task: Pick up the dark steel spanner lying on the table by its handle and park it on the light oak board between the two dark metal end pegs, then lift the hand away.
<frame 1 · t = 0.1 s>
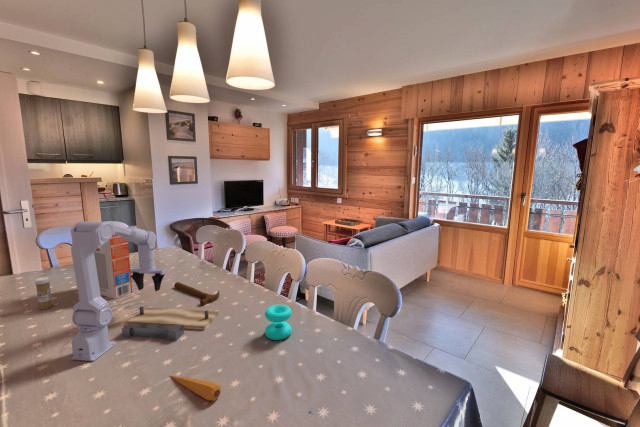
hand: (149, 289, 125), 10 cm above the table, tool pointing down, fingers open, 7 cm apart
carrot: (193, 388, 84), on the table
oak board: (174, 319, 121), on the table
donuts: (278, 334, 111), on the table
spanner: (153, 335, 109), on the table
pasta box: (109, 291, 147), on the table
hammer: (196, 294, 146), on the table
sprinkles bottle: (46, 307, 130), on the table
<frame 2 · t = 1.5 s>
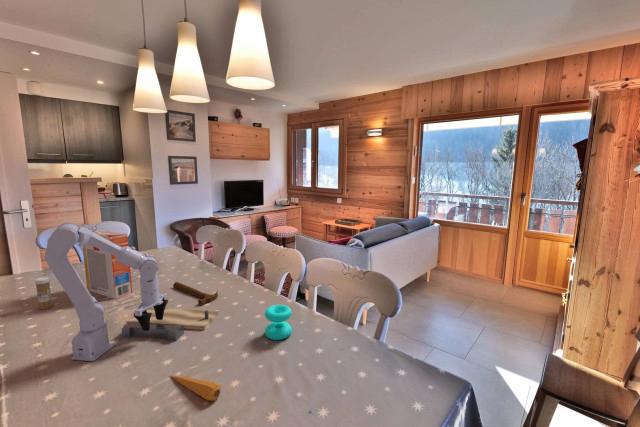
hand: (153, 324, 109), 4 cm above the table, tool pointing down, fingers open, 7 cm apart
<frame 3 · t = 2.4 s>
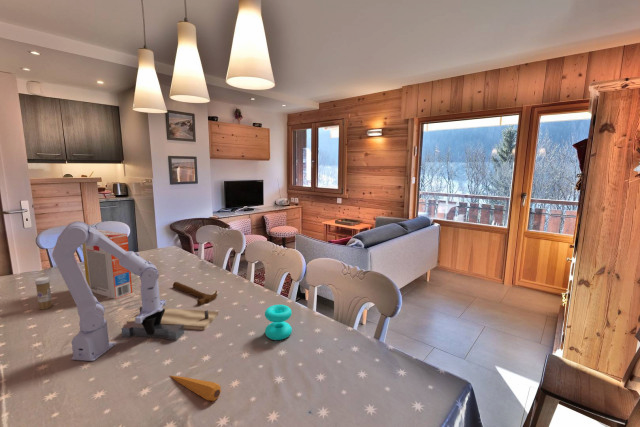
hand: (153, 331, 109), 1 cm above the table, tool pointing down, fingers closed on spanner, 3 cm apart
spanner: (153, 335, 109), on the table, touching gripper
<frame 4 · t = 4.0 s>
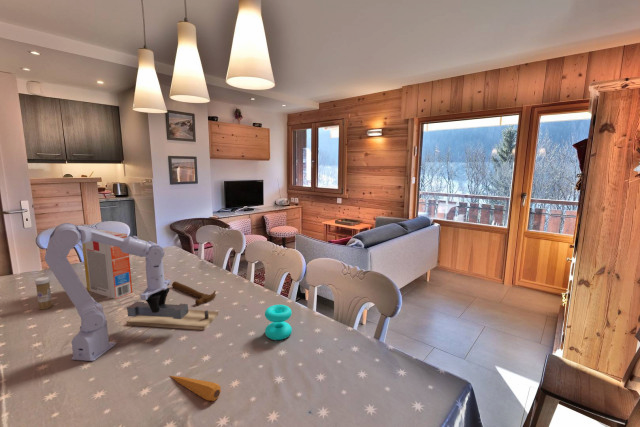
hand: (158, 309, 111), 8 cm above the table, tool pointing down, fingers closed on spanner, 3 cm apart
spanner: (158, 314, 111), point 7 cm above the table, touching gripper
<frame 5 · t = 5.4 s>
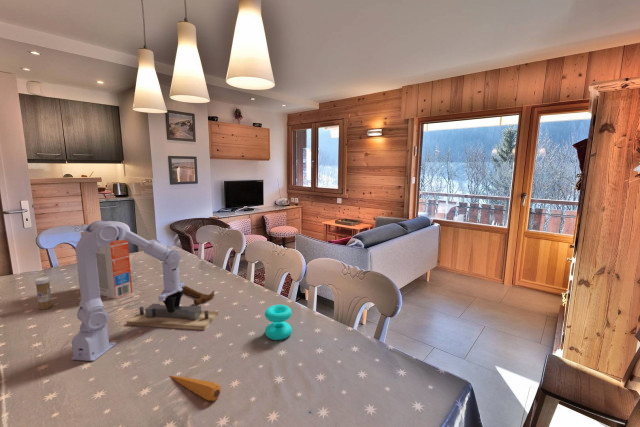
hand: (173, 310, 120), 4 cm above the table, tool pointing down, fingers closed on spanner, 3 cm apart
spanner: (173, 315, 120), point 2 cm above the table, touching gripper
when the fingers open (4 cm above the table, at t = 5.8 s): spanner stays where it is, resting on oak board.
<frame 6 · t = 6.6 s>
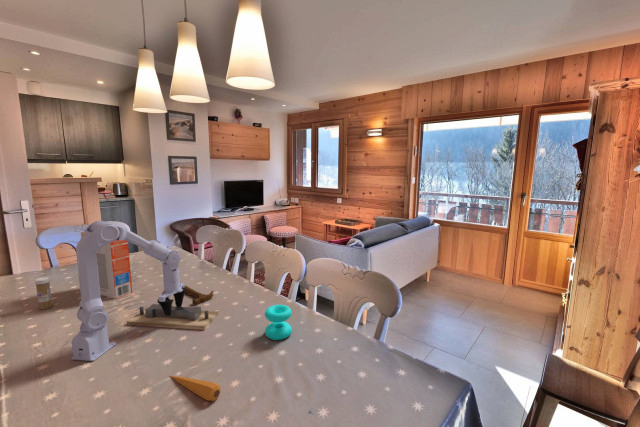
hand: (173, 310, 120), 4 cm above the table, tool pointing down, fingers open, 7 cm apart
spanner: (173, 316, 120), point 1 cm above the table, touching oak board
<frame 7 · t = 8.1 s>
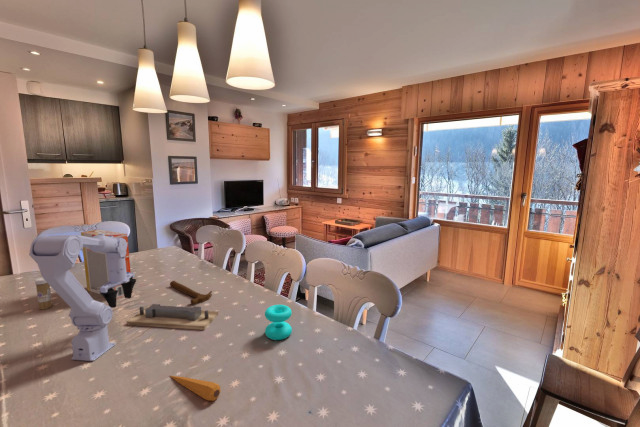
hand: (120, 302, 113), 10 cm above the table, tool pointing down, fingers open, 7 cm apart
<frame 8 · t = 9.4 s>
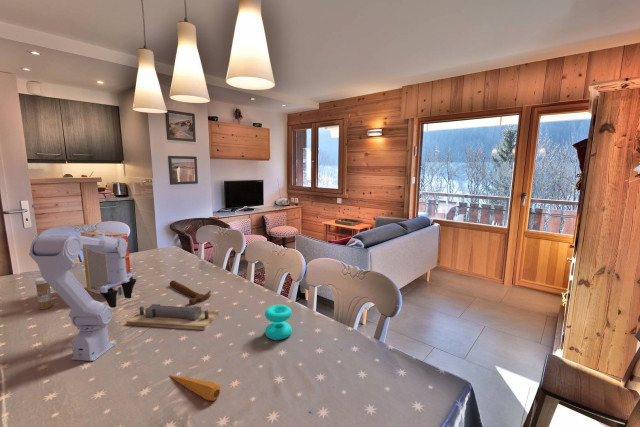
hand: (120, 302, 113), 10 cm above the table, tool pointing down, fingers open, 7 cm apart
at the end: spanner inside the target area on the oak board (0.0 cm from its centre), point 1.5 cm above the oak board's base; spanner touching oak board; the gripper is holding nothing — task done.
